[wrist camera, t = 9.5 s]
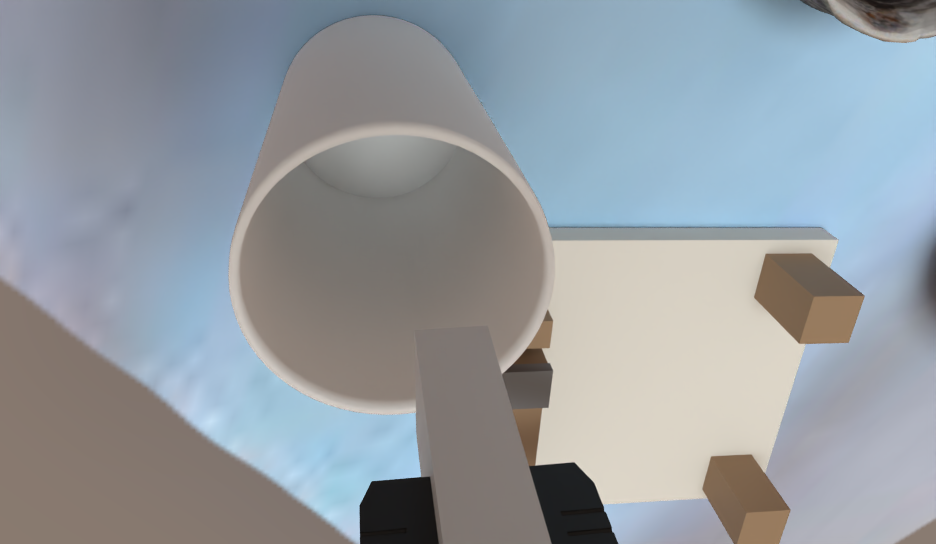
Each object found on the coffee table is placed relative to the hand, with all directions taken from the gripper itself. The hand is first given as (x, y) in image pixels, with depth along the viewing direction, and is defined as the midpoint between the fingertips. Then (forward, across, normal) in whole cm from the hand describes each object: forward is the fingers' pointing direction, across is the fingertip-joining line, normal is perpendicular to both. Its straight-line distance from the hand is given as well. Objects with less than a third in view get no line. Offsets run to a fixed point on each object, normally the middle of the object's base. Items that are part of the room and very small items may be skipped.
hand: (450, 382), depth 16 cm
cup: (+20, -1, 0) cm, 20 cm away
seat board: (+19, +11, -15) cm, 27 cm away
